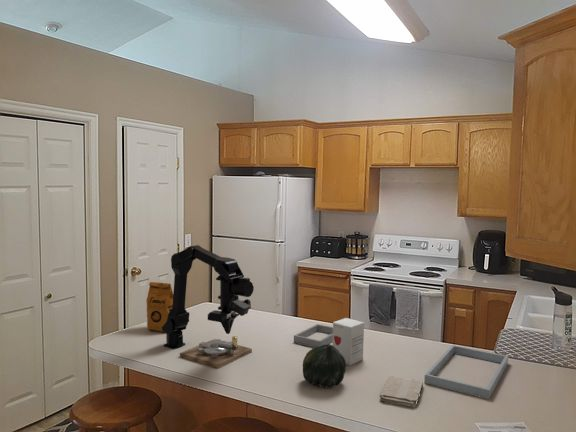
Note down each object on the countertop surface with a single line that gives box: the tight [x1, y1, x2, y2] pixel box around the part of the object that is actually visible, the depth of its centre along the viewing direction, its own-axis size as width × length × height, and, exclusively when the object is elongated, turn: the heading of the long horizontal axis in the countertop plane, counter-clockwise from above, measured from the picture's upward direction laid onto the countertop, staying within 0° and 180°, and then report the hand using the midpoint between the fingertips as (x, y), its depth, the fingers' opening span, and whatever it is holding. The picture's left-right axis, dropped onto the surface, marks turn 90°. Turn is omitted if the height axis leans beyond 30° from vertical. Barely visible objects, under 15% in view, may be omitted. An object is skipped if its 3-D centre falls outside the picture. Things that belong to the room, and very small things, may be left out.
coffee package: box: [146, 281, 174, 333], centre depth 218 cm, size 10×12×22 cm
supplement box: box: [332, 317, 365, 366], centre depth 185 cm, size 9×9×15 cm
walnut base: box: [179, 338, 253, 369], centre depth 189 cm, size 20×20×2 cm
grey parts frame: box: [293, 323, 333, 348], centre depth 209 cm, size 13×20×3 cm, turn 147°
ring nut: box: [198, 335, 238, 358], centre depth 188 cm, size 14×17×7 cm
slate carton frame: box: [423, 344, 509, 400], centre depth 174 cm, size 21×36×3 cm, turn 147°
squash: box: [302, 343, 347, 389], centre depth 163 cm, size 14×15×15 cm
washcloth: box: [379, 376, 424, 408], centre depth 157 cm, size 12×18×3 cm, turn 158°
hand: (228, 333), depth 180 cm, fingers closed
